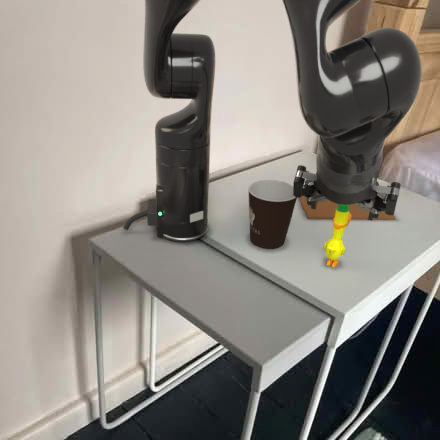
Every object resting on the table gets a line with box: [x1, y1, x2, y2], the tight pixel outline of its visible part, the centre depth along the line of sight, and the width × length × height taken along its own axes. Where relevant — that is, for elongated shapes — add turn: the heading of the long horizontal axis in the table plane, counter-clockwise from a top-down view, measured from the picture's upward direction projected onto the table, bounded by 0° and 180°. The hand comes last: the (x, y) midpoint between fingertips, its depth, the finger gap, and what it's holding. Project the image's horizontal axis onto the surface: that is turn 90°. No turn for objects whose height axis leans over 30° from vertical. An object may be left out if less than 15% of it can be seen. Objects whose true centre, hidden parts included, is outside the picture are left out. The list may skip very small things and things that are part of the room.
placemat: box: [298, 196, 396, 221], centre depth 104 cm, size 18×10×1 cm, turn 94°
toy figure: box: [323, 204, 352, 268], centre depth 83 cm, size 7×4×12 cm, turn 152°
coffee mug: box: [248, 179, 298, 250], centre depth 90 cm, size 12×9×10 cm
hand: (342, 208), depth 75 cm, fingers open, 8 cm apart
